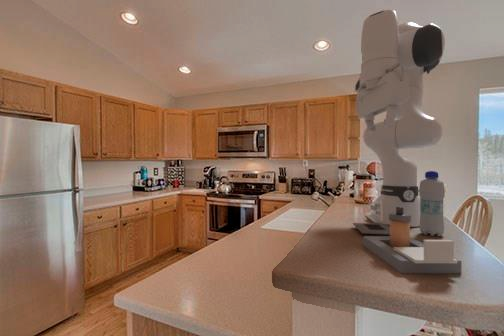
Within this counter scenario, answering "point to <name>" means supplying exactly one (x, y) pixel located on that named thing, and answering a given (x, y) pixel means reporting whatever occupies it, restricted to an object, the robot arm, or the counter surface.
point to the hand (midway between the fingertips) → (379, 129)
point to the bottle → (431, 204)
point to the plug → (399, 228)
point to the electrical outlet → (373, 229)
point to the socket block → (400, 262)
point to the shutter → (430, 252)
